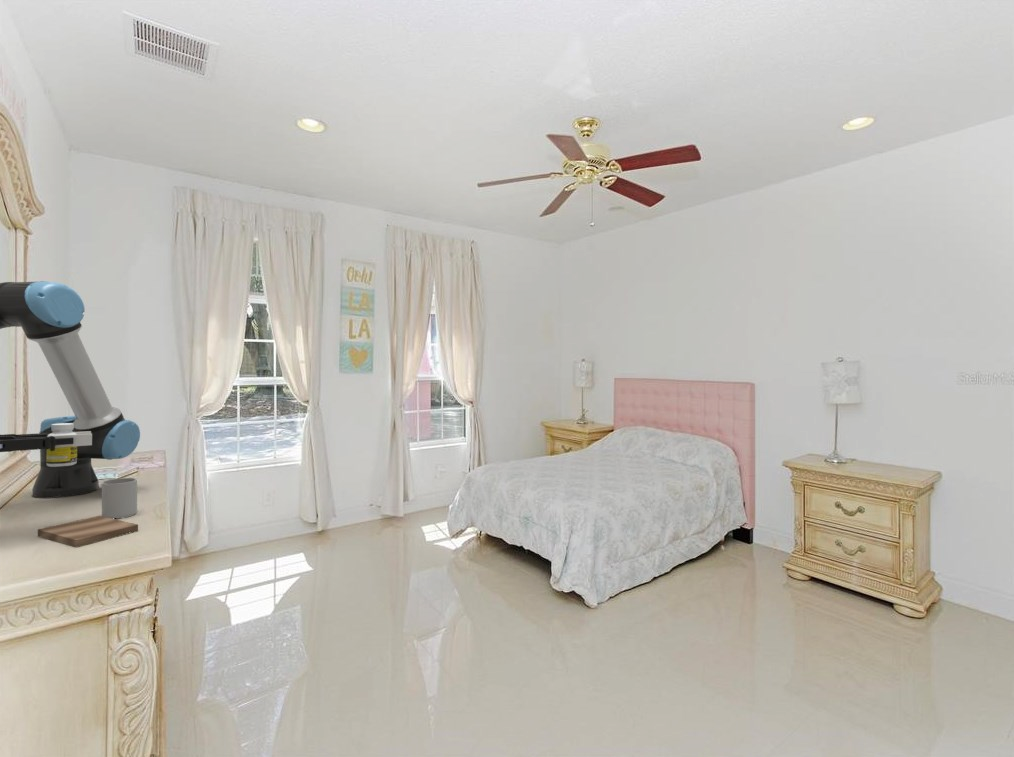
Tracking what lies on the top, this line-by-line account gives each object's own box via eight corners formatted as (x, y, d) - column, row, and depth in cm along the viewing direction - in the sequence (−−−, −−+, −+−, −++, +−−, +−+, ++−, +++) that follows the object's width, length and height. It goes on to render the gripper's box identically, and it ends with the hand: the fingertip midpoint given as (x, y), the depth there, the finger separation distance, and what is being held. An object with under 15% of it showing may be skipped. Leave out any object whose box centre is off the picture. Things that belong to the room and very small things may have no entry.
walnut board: (37, 535, 113) (37, 529, 113) (99, 521, 124) (99, 515, 124) (76, 547, 106) (76, 540, 106) (138, 530, 117) (138, 524, 117)
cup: (102, 521, 124) (102, 485, 124) (100, 512, 131) (100, 478, 131) (138, 515, 129) (138, 481, 129) (134, 507, 136) (134, 475, 136)
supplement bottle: (74, 466, 118) (75, 424, 118) (43, 468, 115) (44, 425, 115) (78, 462, 122) (79, 422, 122) (49, 464, 119) (49, 423, 119)
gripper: (-44, 458, 113) (89, 448, 129) (-58, 470, 100) (93, 458, 115) (-44, 425, 113) (89, 419, 129) (-58, 432, 100) (93, 425, 115)
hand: (91, 438), depth 122 cm, fingers closed on supplement bottle, 5 cm apart
